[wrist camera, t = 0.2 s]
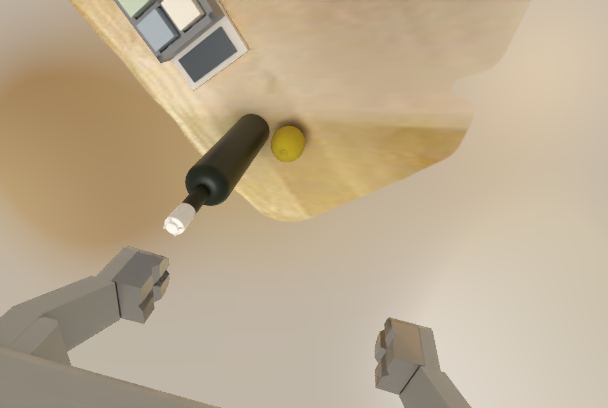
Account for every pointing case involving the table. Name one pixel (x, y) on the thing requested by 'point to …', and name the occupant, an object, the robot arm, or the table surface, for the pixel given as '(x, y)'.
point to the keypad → (199, 43)
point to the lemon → (287, 143)
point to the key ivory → (184, 12)
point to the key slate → (158, 29)
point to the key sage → (136, 6)
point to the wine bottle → (219, 170)
